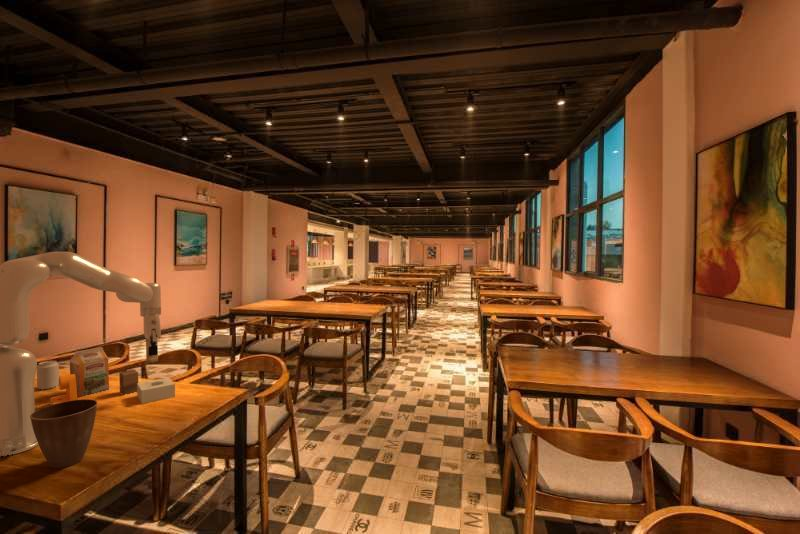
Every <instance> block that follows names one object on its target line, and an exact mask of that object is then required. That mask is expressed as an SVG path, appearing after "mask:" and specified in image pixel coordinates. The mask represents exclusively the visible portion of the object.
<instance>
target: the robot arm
mask: <svg viewBox="0 0 800 534" xmlns="http://www.w3.org/2000/svg"><path fill="white" fill-rule="evenodd" d="M52 276H62V277H65V278H68V279H71V280H73V281H75V282H77V283H80V284H82V285H85V286H87V287H89V288H92V289H95V290H98V291H105V292H111V293H115V296H116V297H117V299H118V300H120V301H121V302H124V303H138V304H139V315H140V317H143V319H142V320H143V336H144V338H145V339H146V338H147V339H149V346H148V349H149V356H152V355H157V354H158V355H159V346H158V347H157V340H158V339H161V338H162V331H161V320H160V319H161V318H160V316H161V315H162V297H161V296H162V293H161V292H162V291H161V284H160V283H158V282H143V281H141V280H139V279H137V278H135V277H133V276H130V275H127V274H124V273H120V272H118V271H116V270H112V269H109V268H107V267H104V266H103V265H101V264H99V263H96V262H94V261H92V260H90V259H88V258H86V257H84V256H82V255H80V254H79V253H78V254H77V253H75V252H72V251H49V252H44V253H41V254H40V253H39V254H34V255H31V256H30V255H29V256H24V257H20V258H19V257H18V258H14V259H10V260H6V261H4V262H2V263H1V264H0V458H2V457H1V456H3V457H8V456H7V455H9V456H13V455H16V454H20V453H24V452H26V451H29V450H31V449H34V448H36V447H38V446H39V444H38V442H37V439H36V437H35V434H34V431H33V427H32V423H31V418H30V415H31V414H32V413H33V412H35V411H36V403H35V399H36V398H35V379H36V374H37V366H38V360H37V357H36V356H35V355H34V353H33V352H31V351H29V350H27V349H24V348H18V347H14V345H18V344H21V343H22V342H24V341H25V340H27V338H28V337H29V335H30V331H31V329H30V325H31V324H30V312H29V310H30V309H29V303H30V296H31V294H32V293H33V291H35V289H36V288H37V287H38V286H40V285H41V284H43V283H45V282H46V281H47V280H48V278H49V277H52ZM150 337H152V339H150ZM151 340H152V341H151ZM12 454H13V455H12Z"/></svg>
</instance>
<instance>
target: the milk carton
mask: <svg viewBox="0 0 800 534" xmlns="http://www.w3.org/2000/svg"><path fill="white" fill-rule="evenodd" d="M109 369H110V368H109V358H108V356H107V354H106V352H105V351H104V348H103V347H101V346H100V347H95V348H89V349H85V350H78V351H75V352H73V356H72V357H71V358H70V360H69V375H71V374H75V377H76V387H77V397H78V396H79V398H83V396H84V397H87V396H86V395H88V396H91V394H92V395H95V394H94V393H96V394H99V393H103V392H107V391H110V377H109V376H110V375H109ZM106 390H107V391H106ZM102 391H103V392H102ZM98 392H99V393H98Z"/></svg>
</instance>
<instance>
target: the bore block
mask: <svg viewBox="0 0 800 534" xmlns="http://www.w3.org/2000/svg"><path fill="white" fill-rule="evenodd" d="M136 394H137V398H138V399H139V401H140V403H141V404H142V405H144V404H148V403H152V402H157V401H161V400H166V399H171V398H175V397H176V385H175V382H173V380H172V379H171V378H170V377H164V378H159V379H154V380H153V379H151V380H148V381H141V382H138V383H137V392H136Z"/></svg>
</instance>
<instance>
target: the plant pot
mask: <svg viewBox="0 0 800 534" xmlns="http://www.w3.org/2000/svg"><path fill="white" fill-rule="evenodd" d="M97 407H98V401H97V400H95V399H91V398H90V399H88V398H85V399H78V400H72V401H66V402H61V403H57V404H53V405H51V404H50V405H47V406H44V407H41V408H39V409H37V410H35V412H33V413H32V414H31V415H30V418H31V423H32V427H33V431H34V434H35V437H36V439H37V442H38V444H39V445H38V447H39V449H40V451H41V453H42V455H43V456H44V459H45V460H46V462H47V464H48V465H49V467H51V469H52V468H53V469H61V468H63V469H64V468H66V467H70V466H73V465H75V464H78V463H79V462H81V461H82V460H84V458H85V455H86V452H87V449H88V446H89V444H90V441H91V437H92V434H93V430H94V426H95V421H96V416H97V409H98V408H97Z"/></svg>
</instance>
